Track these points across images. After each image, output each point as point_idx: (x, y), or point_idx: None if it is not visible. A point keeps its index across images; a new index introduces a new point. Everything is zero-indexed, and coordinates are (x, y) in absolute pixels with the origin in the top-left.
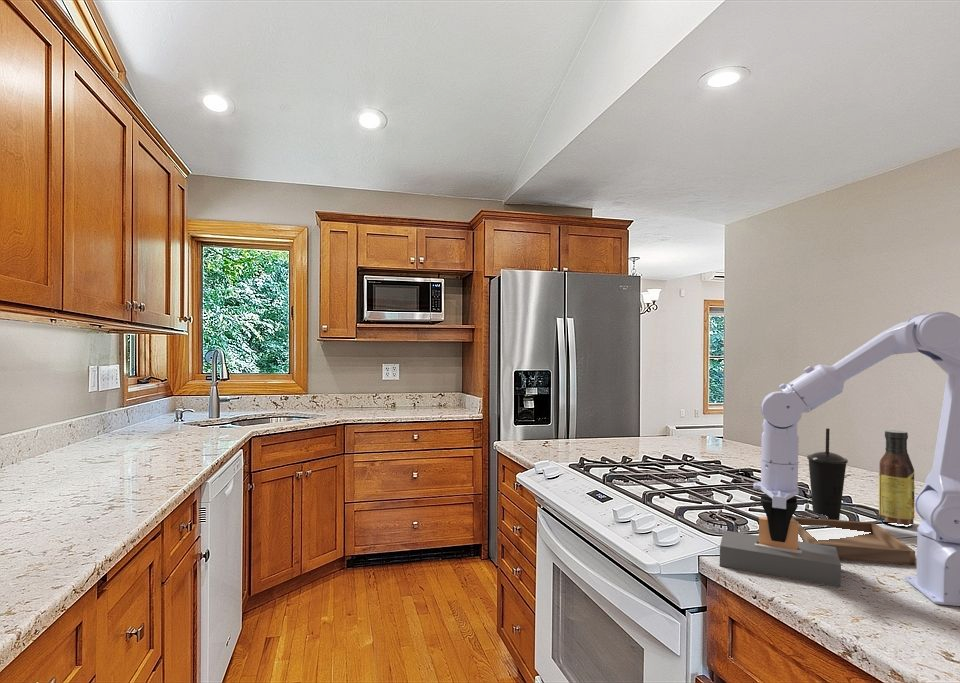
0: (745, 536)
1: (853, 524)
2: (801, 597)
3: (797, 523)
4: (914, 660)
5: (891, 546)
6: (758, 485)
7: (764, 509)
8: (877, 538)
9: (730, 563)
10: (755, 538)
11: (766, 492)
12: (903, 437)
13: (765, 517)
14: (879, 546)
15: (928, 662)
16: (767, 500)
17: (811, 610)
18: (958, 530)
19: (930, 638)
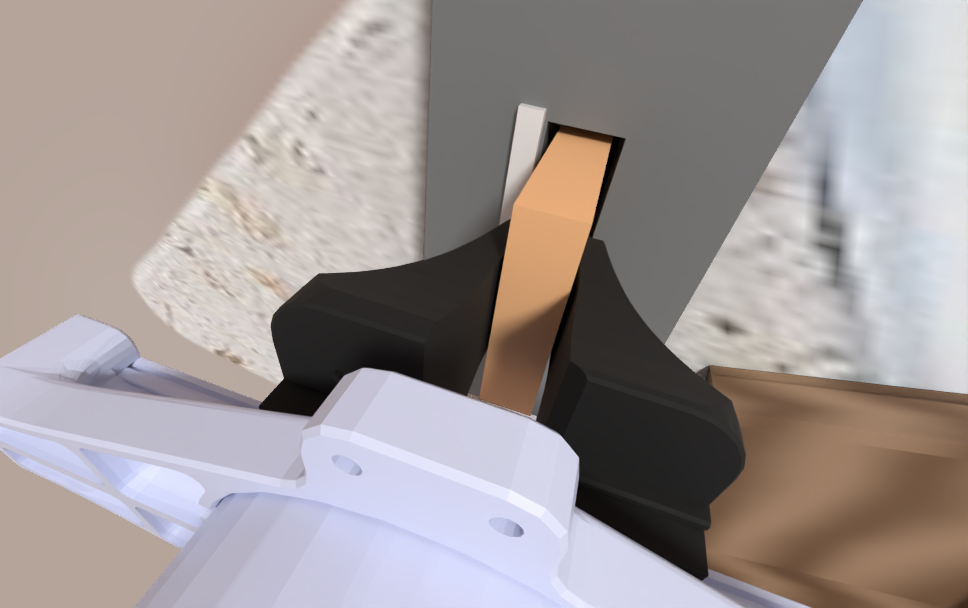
0: (735, 68)
1: None
2: (315, 197)
3: (487, 399)
4: (174, 305)
5: (789, 575)
6: (310, 472)
7: (357, 274)
8: (898, 594)
9: None
10: (689, 140)
11: (144, 415)
12: None
13: (566, 264)
14: (806, 557)
15: (184, 321)
16: (326, 360)
17: (246, 198)
18: None
19: (274, 366)
